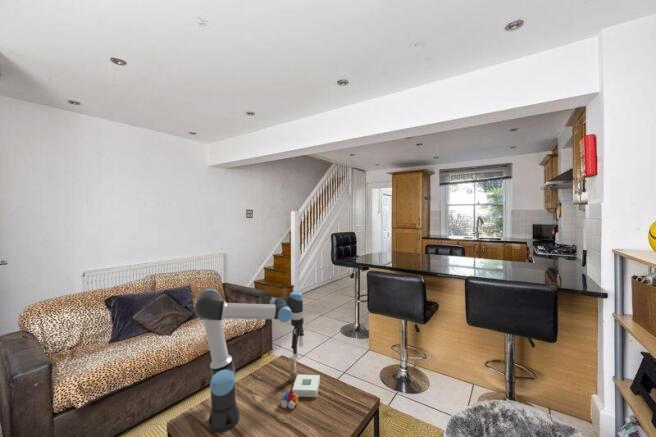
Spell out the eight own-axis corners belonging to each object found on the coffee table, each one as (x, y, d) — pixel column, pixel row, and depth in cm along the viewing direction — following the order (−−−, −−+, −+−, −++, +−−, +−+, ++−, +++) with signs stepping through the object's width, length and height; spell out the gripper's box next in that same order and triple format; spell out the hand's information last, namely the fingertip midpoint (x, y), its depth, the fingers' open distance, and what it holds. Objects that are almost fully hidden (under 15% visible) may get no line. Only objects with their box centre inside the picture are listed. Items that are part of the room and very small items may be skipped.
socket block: (292, 396, 158) (292, 389, 158) (297, 380, 172) (297, 374, 171) (316, 397, 156) (316, 390, 156) (319, 381, 170) (319, 375, 170)
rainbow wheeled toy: (295, 411, 146) (295, 397, 146) (278, 408, 148) (278, 395, 148) (300, 400, 155) (300, 387, 154) (284, 398, 157) (283, 385, 156)
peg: (289, 381, 171) (288, 359, 171) (290, 377, 175) (290, 356, 174) (295, 381, 171) (295, 359, 170) (297, 377, 175) (296, 356, 174)
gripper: (298, 327, 153) (299, 364, 154) (307, 309, 177) (308, 342, 178) (285, 326, 154) (286, 363, 155) (296, 309, 178) (297, 341, 180)
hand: (298, 352), depth 167 cm, fingers open, 13 cm apart
